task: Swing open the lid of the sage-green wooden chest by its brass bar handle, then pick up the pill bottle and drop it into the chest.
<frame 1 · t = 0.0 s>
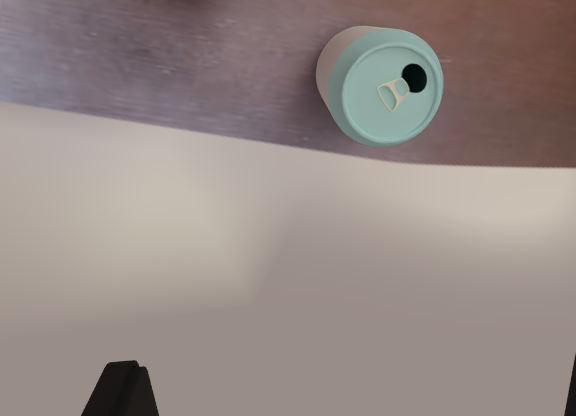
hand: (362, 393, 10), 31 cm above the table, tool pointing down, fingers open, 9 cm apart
can: (358, 72, 38), on the table
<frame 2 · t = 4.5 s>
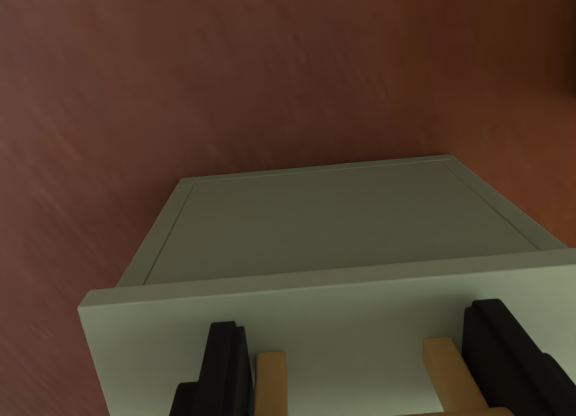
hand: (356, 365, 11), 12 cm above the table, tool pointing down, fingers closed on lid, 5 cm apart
chest: (324, 298, 24), on the table
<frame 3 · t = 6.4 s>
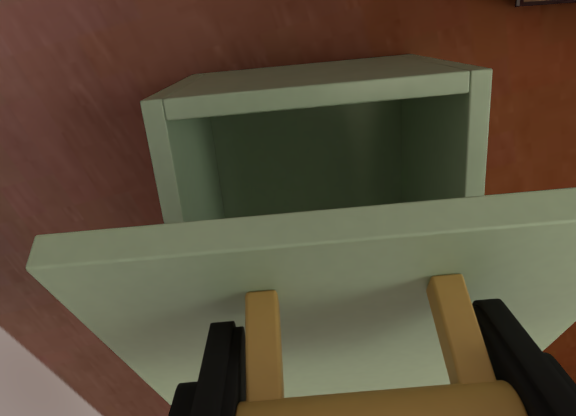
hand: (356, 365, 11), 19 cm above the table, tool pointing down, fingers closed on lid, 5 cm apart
chest: (310, 185, 29), on the table
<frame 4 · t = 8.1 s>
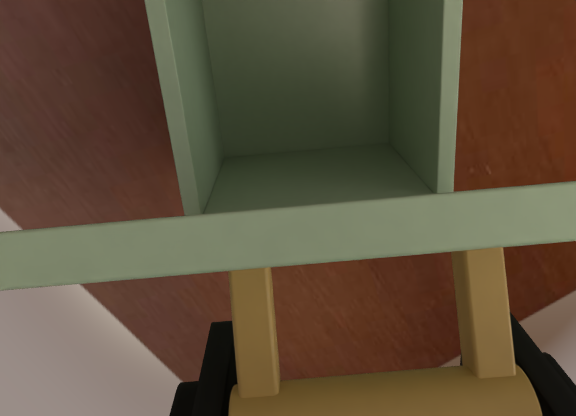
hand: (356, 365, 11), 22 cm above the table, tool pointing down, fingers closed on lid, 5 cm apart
chest: (298, 46, 29), on the table
lid: (339, 289, 14), point 19 cm above the table, hinge at 65.6°, touching gripper
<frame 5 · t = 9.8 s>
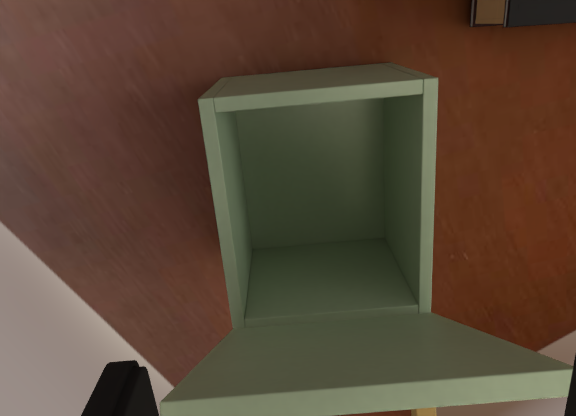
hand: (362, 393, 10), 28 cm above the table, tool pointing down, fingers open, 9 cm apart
chest: (312, 165, 37), on the table
lid: (348, 393, 21), point 19 cm above the table, hinge at 61.8°
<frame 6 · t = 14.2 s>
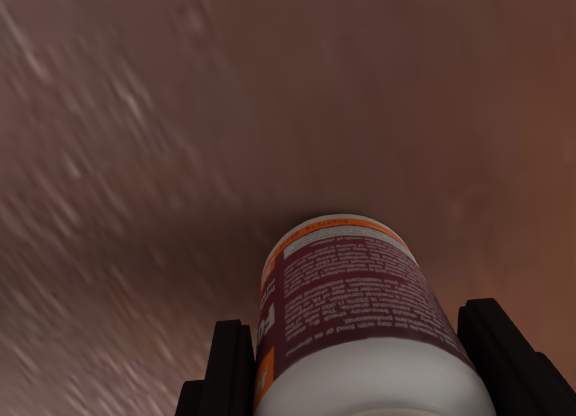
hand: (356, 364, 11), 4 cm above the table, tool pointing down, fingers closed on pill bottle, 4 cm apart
pill bottle: (336, 276, 15), on the table, touching gripper
when the fingers open (9 cm above the table, at t = 22.7 s): pill bottle drops 4 cm, resting on chest.
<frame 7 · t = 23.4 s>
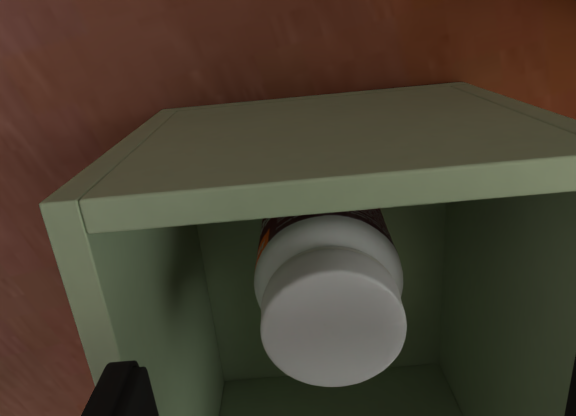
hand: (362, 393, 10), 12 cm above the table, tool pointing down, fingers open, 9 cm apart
pill bottle: (319, 205, 20), point 1 cm above the table, touching chest
chest: (322, 251, 22), on the table
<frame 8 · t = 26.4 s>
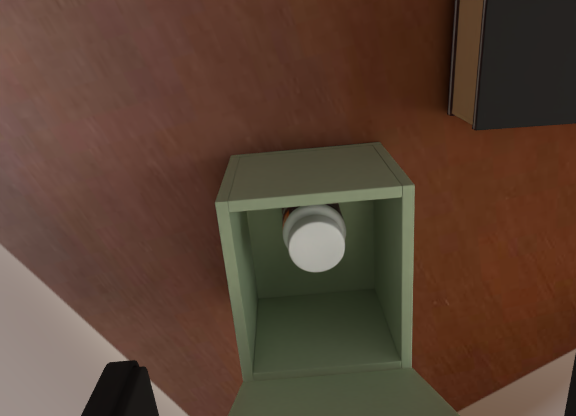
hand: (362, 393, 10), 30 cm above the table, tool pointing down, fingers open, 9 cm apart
pill bottle: (309, 202, 40), point 1 cm above the table, touching chest
chest: (311, 227, 42), on the table
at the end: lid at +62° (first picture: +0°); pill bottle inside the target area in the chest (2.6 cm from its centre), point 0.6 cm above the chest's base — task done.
